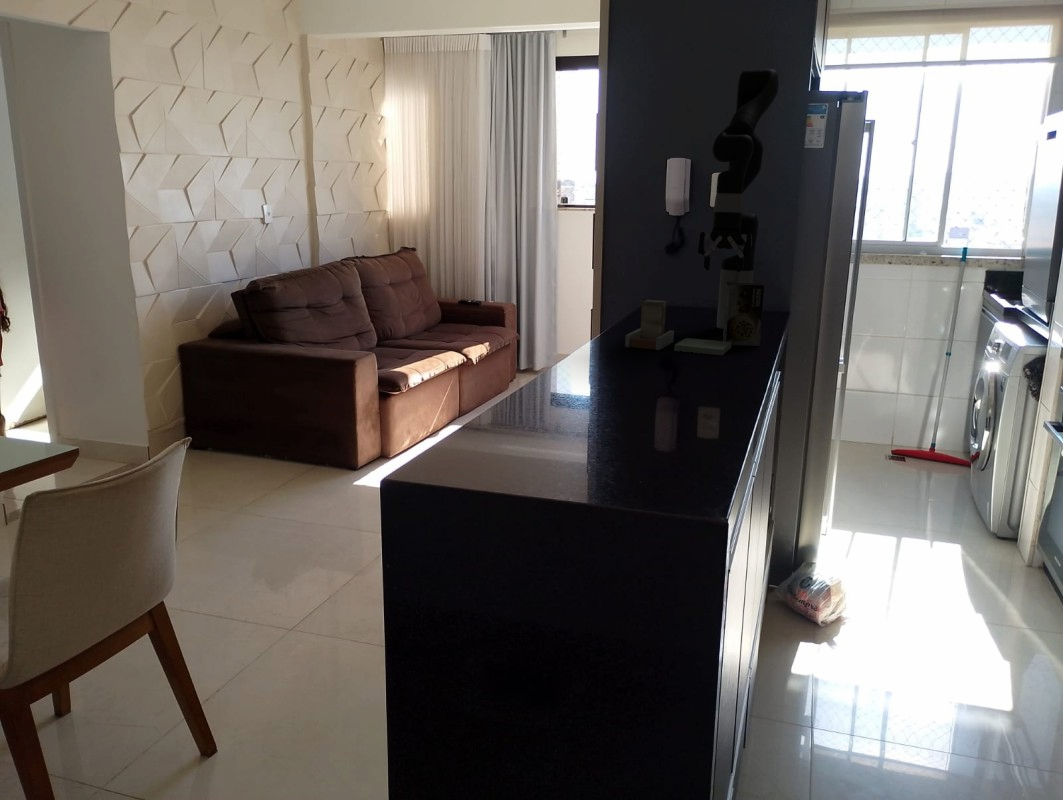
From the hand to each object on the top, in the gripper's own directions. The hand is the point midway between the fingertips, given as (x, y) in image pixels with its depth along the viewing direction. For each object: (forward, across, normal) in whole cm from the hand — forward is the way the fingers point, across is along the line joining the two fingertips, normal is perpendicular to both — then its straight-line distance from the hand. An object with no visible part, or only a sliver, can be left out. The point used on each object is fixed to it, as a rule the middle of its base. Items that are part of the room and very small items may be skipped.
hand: (723, 271), depth 238 cm
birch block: (+19, +14, +22) cm, 32 cm away
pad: (+19, 0, +25) cm, 31 cm away
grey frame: (+19, +14, +24) cm, 34 cm away
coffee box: (+18, -8, +11) cm, 23 cm away
